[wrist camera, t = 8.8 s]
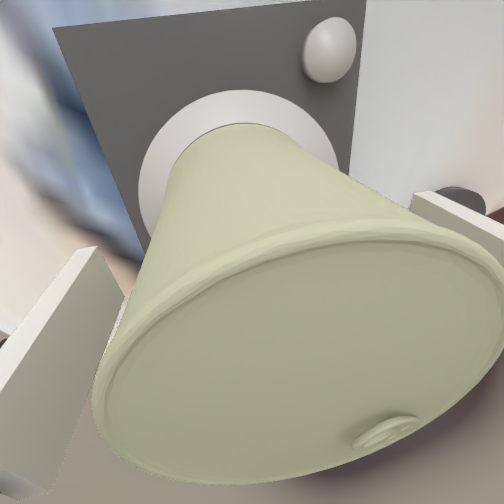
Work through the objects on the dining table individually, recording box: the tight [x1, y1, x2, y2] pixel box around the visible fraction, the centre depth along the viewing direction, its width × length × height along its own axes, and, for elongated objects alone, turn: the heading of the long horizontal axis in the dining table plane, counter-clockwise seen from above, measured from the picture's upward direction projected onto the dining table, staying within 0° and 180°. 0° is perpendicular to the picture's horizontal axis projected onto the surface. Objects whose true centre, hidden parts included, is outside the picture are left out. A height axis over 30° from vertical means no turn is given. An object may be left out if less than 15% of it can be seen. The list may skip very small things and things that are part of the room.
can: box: [92, 124, 504, 485], centre depth 10 cm, size 9×9×12 cm
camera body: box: [52, 0, 366, 255], centre depth 17 cm, size 18×14×5 cm
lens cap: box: [435, 187, 486, 216], centre depth 24 cm, size 7×7×2 cm
